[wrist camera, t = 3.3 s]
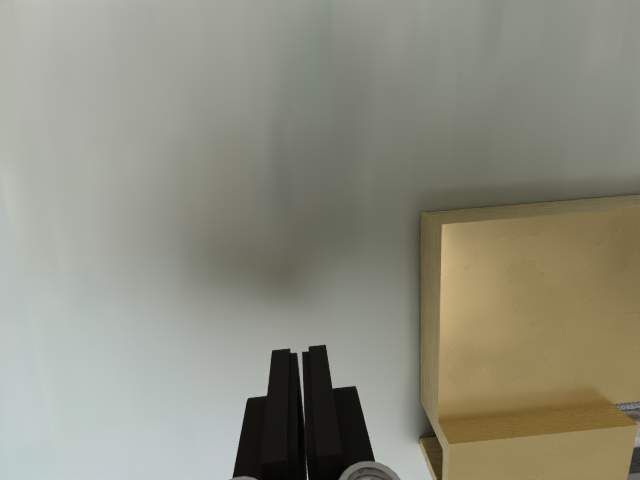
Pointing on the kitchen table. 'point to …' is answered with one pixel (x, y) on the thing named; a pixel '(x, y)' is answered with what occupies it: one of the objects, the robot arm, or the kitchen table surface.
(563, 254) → the brass leaf
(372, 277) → the kitchen table surface
